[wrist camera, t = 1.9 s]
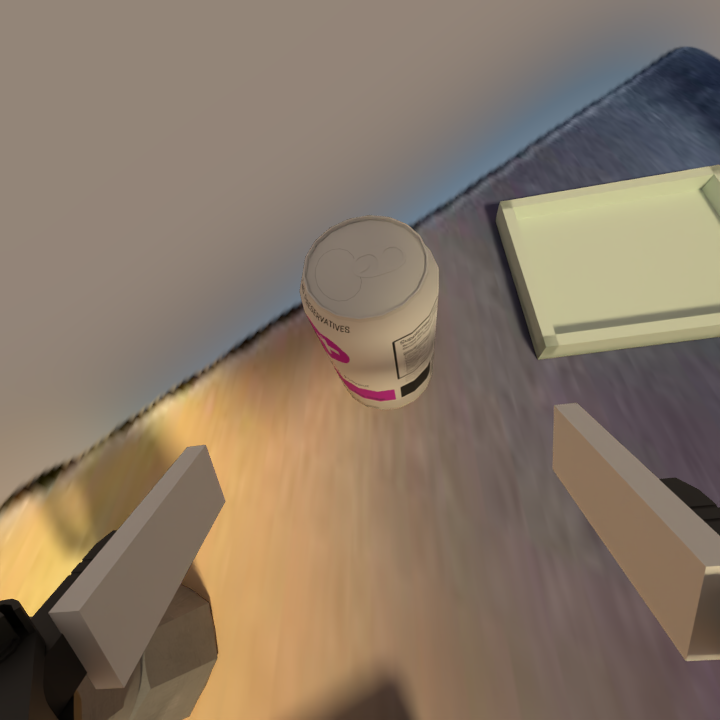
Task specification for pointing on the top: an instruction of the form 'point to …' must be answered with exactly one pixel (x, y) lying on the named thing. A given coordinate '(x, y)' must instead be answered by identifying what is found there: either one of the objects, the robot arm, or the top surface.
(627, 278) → the tray
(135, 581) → the robot arm
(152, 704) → the coffeepot
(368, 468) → the top surface
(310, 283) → the supplement can
